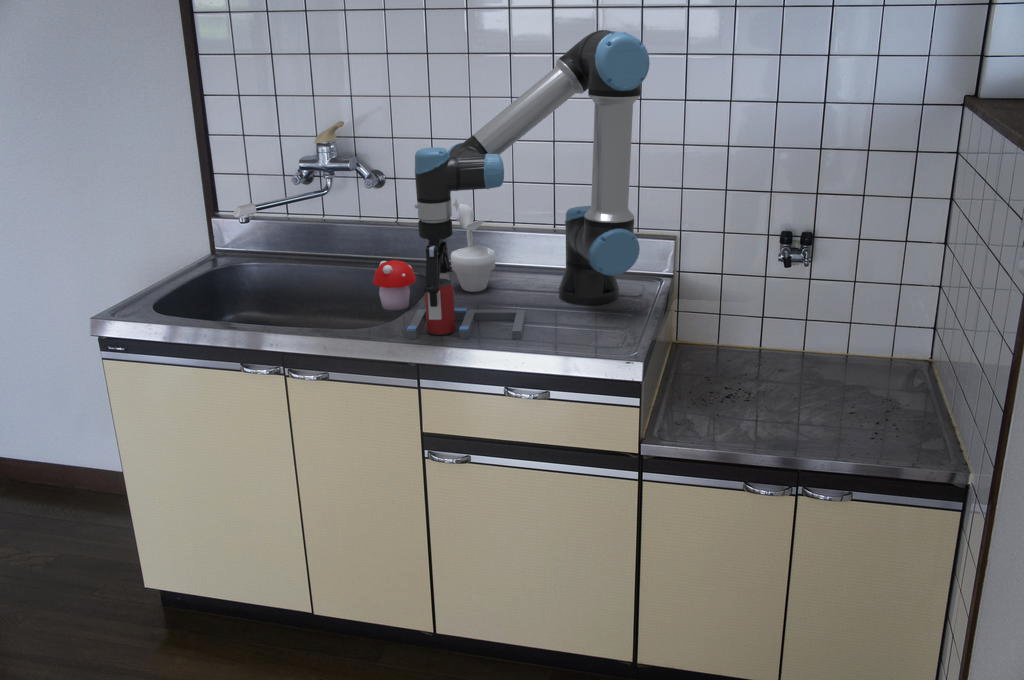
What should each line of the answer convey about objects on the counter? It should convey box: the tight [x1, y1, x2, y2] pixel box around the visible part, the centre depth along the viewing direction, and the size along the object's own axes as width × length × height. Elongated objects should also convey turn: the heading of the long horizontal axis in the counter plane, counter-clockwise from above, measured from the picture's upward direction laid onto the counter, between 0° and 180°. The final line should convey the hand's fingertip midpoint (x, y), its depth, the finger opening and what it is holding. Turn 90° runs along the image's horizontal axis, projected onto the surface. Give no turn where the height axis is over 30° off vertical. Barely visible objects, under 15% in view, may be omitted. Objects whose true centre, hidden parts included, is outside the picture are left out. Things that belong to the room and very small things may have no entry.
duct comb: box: [406, 307, 526, 340], centre depth 226 cm, size 26×14×2 cm, turn 85°
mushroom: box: [372, 259, 417, 311], centre depth 241 cm, size 11×11×12 cm
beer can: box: [424, 279, 456, 336], centre depth 223 cm, size 7×7×12 cm
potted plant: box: [450, 199, 496, 293], centre depth 250 cm, size 13×12×25 cm
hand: (439, 309), depth 223 cm, fingers open, 13 cm apart
